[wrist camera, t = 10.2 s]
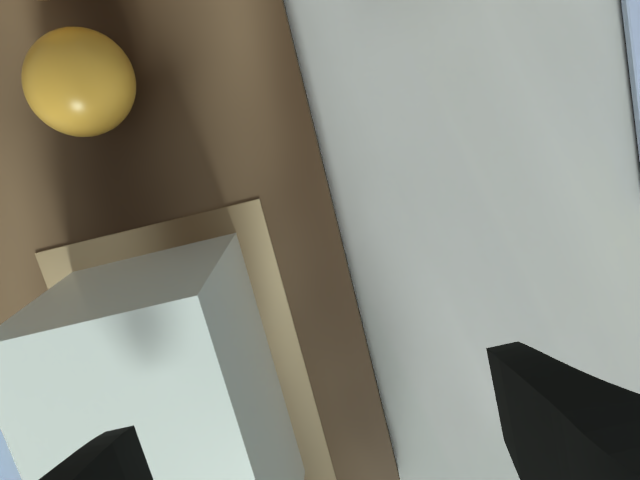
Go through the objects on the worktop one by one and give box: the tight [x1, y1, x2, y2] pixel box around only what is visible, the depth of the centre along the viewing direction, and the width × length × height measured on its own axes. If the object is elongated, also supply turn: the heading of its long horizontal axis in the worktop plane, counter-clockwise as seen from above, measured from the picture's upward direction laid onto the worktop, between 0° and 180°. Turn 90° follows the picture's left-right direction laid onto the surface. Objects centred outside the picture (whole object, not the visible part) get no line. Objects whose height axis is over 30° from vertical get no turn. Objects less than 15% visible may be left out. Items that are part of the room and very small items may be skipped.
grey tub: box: [0, 233, 305, 480], centre depth 18 cm, size 6×9×6 cm, turn 14°
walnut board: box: [0, 0, 400, 480], centre depth 20 cm, size 12×24×1 cm, turn 14°
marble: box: [21, 27, 136, 137], centre depth 17 cm, size 3×3×3 cm
